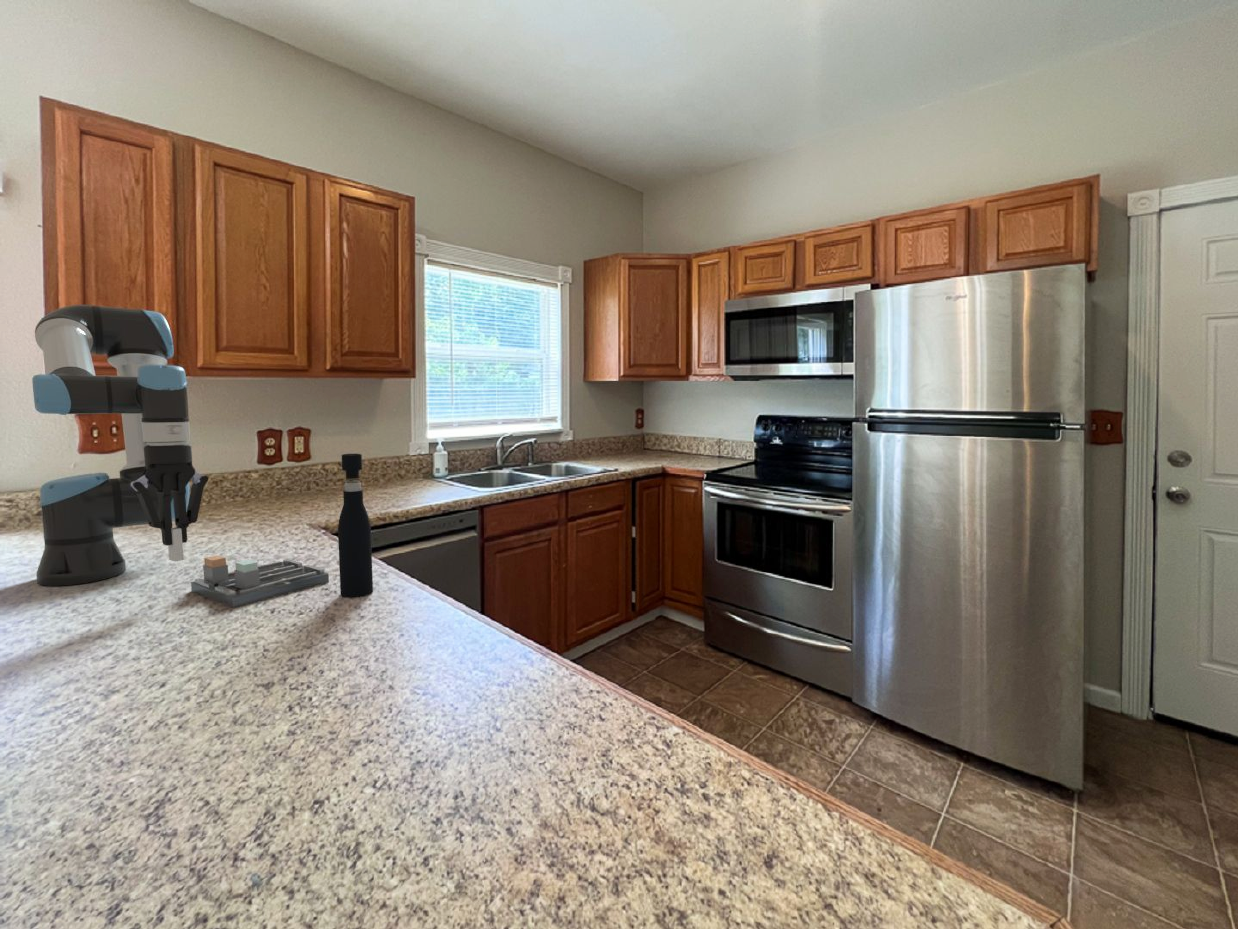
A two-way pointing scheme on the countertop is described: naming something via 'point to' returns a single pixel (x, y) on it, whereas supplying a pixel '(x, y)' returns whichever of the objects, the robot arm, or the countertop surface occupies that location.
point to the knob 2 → (246, 574)
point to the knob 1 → (215, 569)
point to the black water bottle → (354, 535)
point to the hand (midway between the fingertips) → (176, 559)
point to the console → (263, 583)
